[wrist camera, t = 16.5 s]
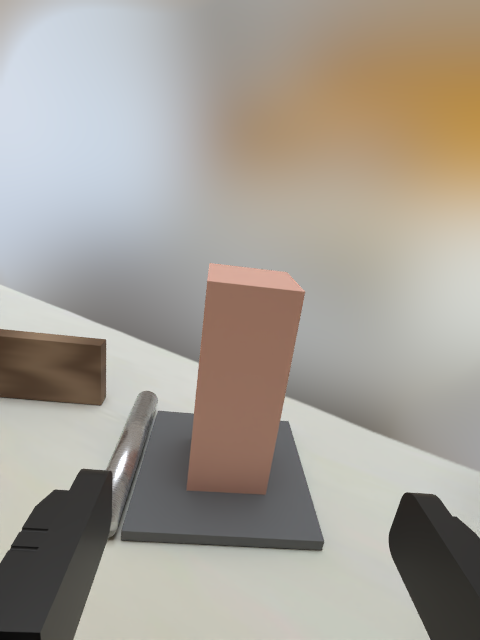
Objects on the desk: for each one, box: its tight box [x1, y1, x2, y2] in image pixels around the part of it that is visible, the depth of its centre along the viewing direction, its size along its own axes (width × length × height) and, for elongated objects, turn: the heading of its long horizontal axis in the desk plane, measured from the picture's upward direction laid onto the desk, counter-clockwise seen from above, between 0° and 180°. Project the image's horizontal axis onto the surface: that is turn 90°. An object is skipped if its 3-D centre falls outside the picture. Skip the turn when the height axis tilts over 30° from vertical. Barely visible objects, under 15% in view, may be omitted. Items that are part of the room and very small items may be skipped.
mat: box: [121, 411, 324, 550], centre depth 22 cm, size 10×10×1 cm
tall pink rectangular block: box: [186, 263, 305, 495], centre depth 20 cm, size 4×4×12 cm
